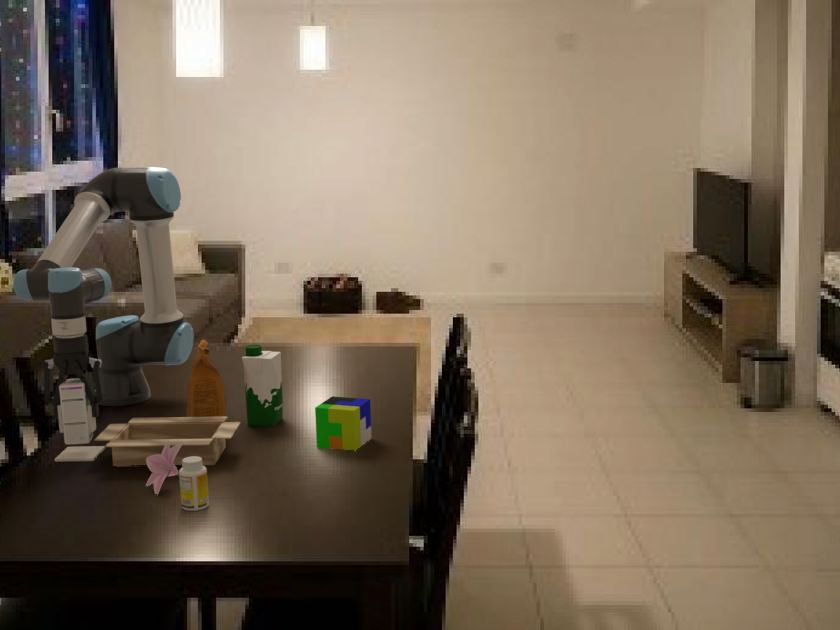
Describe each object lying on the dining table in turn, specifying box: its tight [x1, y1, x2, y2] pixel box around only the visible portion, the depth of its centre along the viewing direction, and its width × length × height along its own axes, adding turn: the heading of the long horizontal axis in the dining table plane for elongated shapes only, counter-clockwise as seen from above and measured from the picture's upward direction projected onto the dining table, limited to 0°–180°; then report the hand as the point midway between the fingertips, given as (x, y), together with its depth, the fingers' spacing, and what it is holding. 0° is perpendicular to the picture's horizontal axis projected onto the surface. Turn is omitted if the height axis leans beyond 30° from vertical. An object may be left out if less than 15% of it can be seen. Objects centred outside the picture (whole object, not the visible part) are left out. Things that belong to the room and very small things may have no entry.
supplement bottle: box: [178, 456, 210, 512], centre depth 216 cm, size 6×6×10 cm
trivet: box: [54, 445, 106, 462], centre depth 251 cm, size 9×9×1 cm
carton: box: [94, 415, 241, 467], centre depth 248 cm, size 21×31×6 cm
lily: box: [145, 440, 182, 496], centre depth 228 cm, size 12×12×10 cm
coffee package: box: [186, 339, 227, 422], centre depth 268 cm, size 10×12×22 cm
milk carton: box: [241, 344, 284, 427], centre depth 272 cm, size 9×9×20 cm
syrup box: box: [59, 377, 94, 445], centre depth 249 cm, size 6×6×14 cm
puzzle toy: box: [314, 395, 372, 452], centre depth 254 cm, size 10×10×10 cm
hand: (78, 430), depth 250 cm, fingers closed on syrup box, 6 cm apart
